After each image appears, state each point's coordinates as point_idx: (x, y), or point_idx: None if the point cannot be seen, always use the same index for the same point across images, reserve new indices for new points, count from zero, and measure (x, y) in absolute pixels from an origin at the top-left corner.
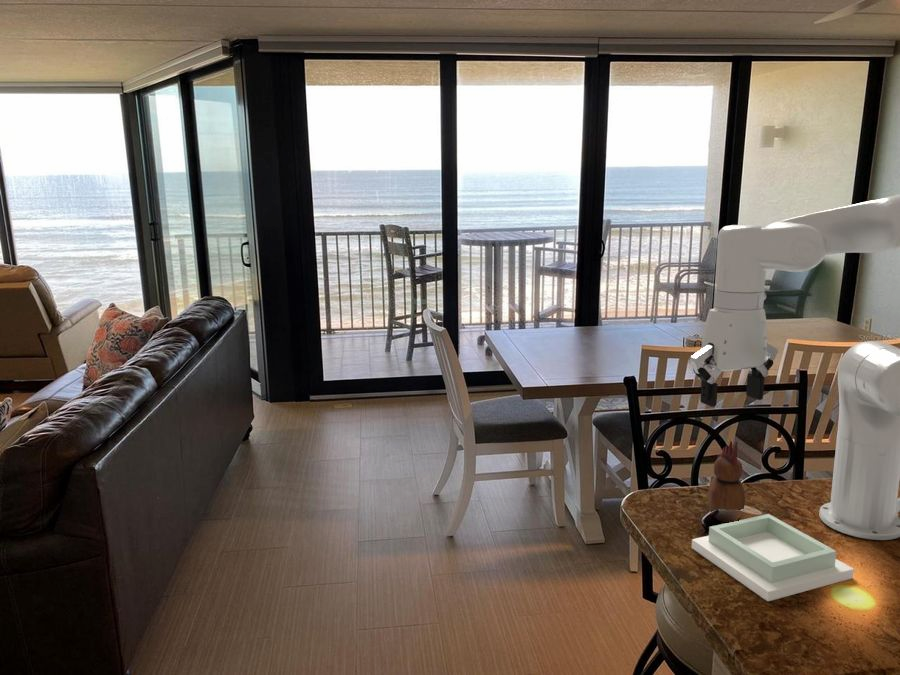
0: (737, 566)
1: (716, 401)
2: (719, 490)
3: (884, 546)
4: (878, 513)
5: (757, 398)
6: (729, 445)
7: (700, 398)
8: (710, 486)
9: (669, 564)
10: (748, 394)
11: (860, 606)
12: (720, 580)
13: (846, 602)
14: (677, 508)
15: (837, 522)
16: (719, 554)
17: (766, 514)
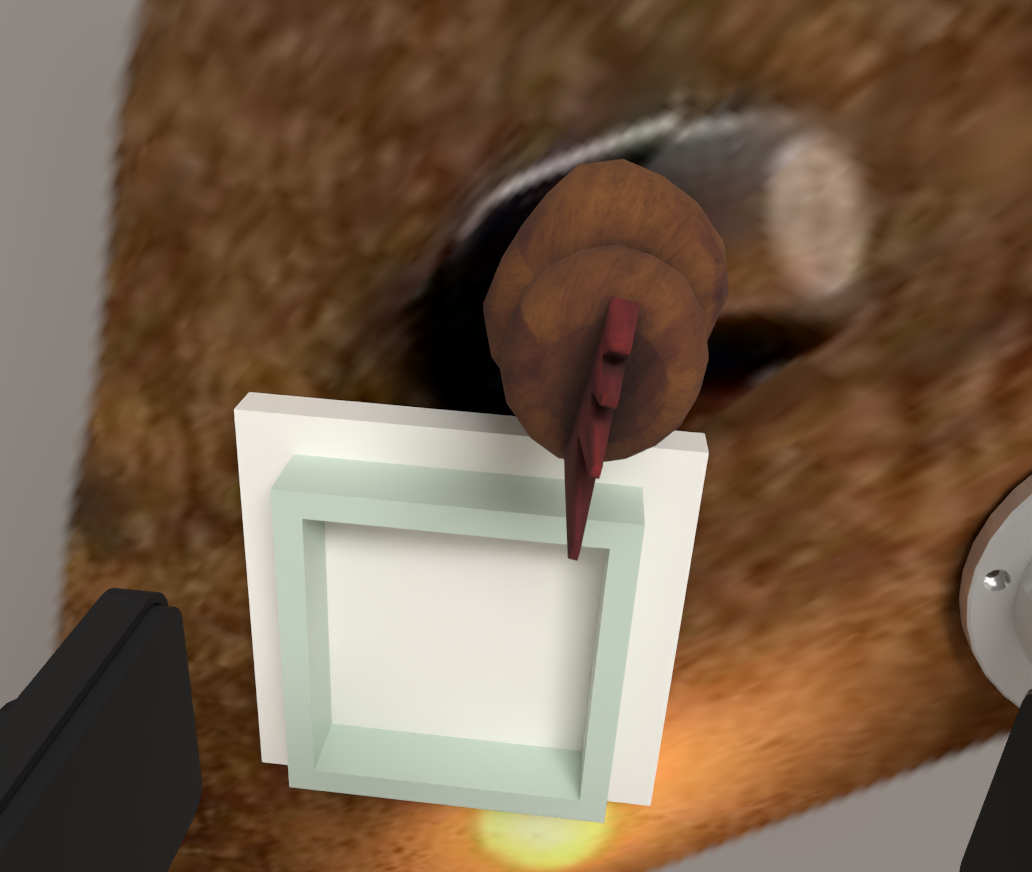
0: (272, 630)
1: (173, 851)
2: (495, 353)
3: (991, 718)
4: None
5: (967, 868)
6: (590, 445)
7: (91, 608)
8: (518, 250)
9: (85, 445)
10: (1027, 738)
11: (518, 855)
12: (208, 600)
13: (499, 830)
14: (457, 17)
15: (1008, 572)
16: (266, 546)
17: (629, 524)
